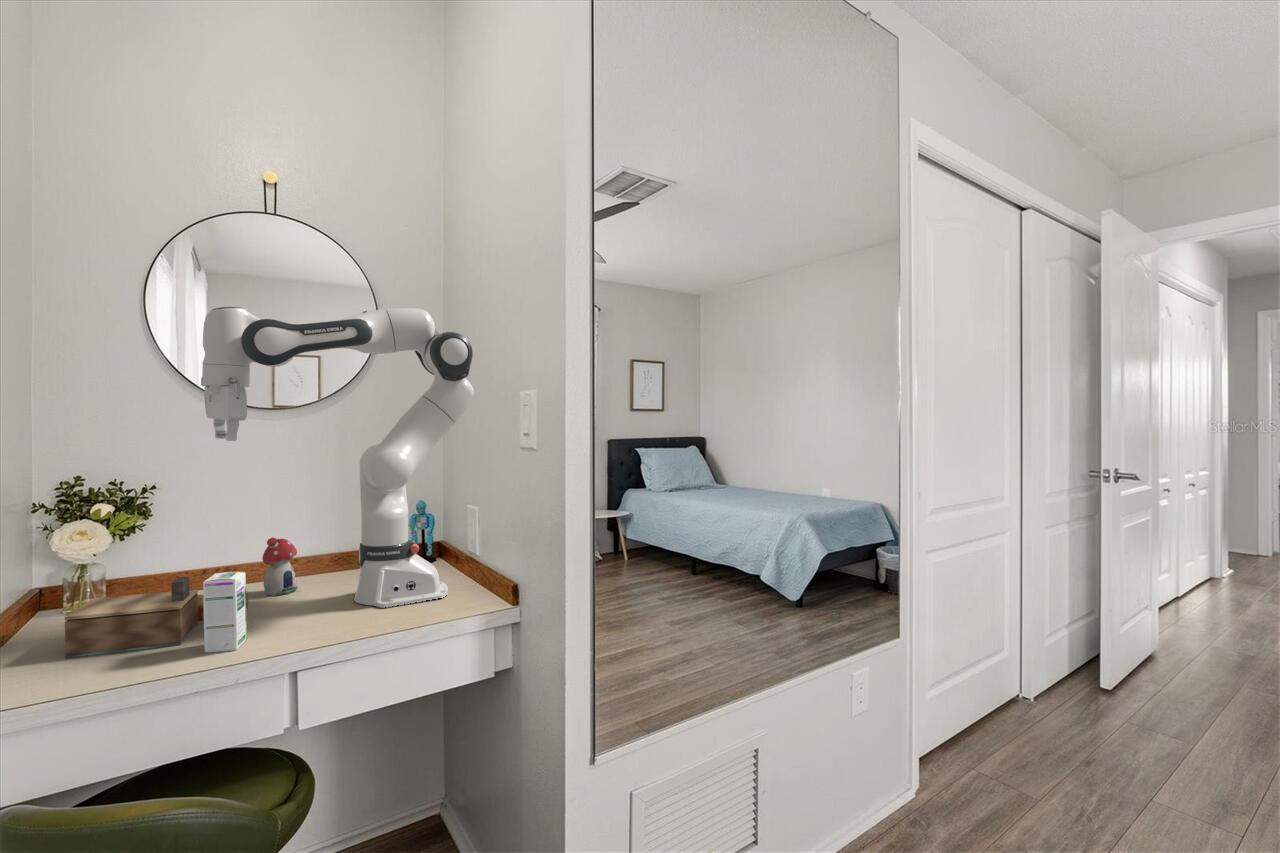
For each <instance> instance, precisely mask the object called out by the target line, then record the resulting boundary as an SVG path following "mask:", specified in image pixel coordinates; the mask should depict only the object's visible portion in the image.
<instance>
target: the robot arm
mask: <svg viewBox="0 0 1280 853" xmlns="http://www.w3.org/2000/svg"><path fill="white" fill-rule="evenodd" d="M435 324H436V323H435V321H434V319H433V317H432V316H431V314H430V313H429V312H428V310H425V309H423V308H419V307H418V308H417V307H392V308H391V307H390V308H382V309H381V308H379V309H375V310H370V311H366V312H362V313H359V314H355V315H352V316H348V317H346V318H343V319H339V320H331V321H321V322H312V323H299V324H298V323H297V324H294V323H288V322H284V321H281V320H276V319H271V318H264V319H263V318H259V317H258V316H256V315H254V314H253V313H251V312H249V311H248V310H247V309H246V308H244V307H240V306H222V307H215V308H213V309H211V310H209V311H207V314H206V315H205V317H204V321H203V331H202V347H203V350H204V357H203V360H202V368H201V369H202V376H201V378H200V386H202V387H204V388H203V392H204V393H203V394H204V396H203V397H204V408H205V409H204V410H205V414H206V416H207V419H212V420H213V427H214V428H213V429H214V437H215V438H216V439H218V440H220V439H221V440H224V439H225V440H226V441H227V442H228V441H229V442H236V441H238V430H239V427H240V421H246V420H247V417H248V416H247V415H248V400H247V399H248V398H247V390H246V388H249V387H250V378H251V377H250V372H251V370H250V369H251V368H250V366H251V363H256V364H258V365H259V364H260V365H263V366H264V367H265V366H266V367H271V368H277V367H282V366H285V365H286V364H289V362H291V361H292V360H293V359H294V357H295V356H297V355H298V356H299V355H300V354H304V353H309V352H310V353H311V352H319V351H325V350H332V349H349V350H354V351H357V352H360V353H363V354H369V355H370V354H373V355H375V354H376V355H379V354H391V353H399V352H406V351H414V353H415V354H416V356H417V357H418V359H419V361H420V363H421V365H422V366H423V368H424V369H425V370H426V371H427V372H428V373H430V374H431V375H433V376H434V380H433V382H432V384H431V385H430V387H429V388H428V389H427V390H426V391H425V392H424V393H423V394H422V395H421V396H420V397H419V398H418V400H416V401H415V402H414V403H413V404H412V406H410V407H409V409H408V410H406V412H405V413H404V414H403V415H402V416H401V417H400V418H399V420H398V421H397V422H396V424H395V425H394V426H393V428H392V429H391V430H390V431H389V433H388V434H387V435H386V436H385V437H384V438H383V440H382V441H381V442H380V443H376V444H373V445H372V446H369V447H368V448H367V449H366V450H365V451H364V452H362V455H361V457H360V460H359V488H360V490H359V492H360V506H361V508H360V509H361V510H360V511H361V542H359V543H360V544H359V549H358V563H359V566H360V567H359V569H360V570H359V578H358V583H357V586H356V587H357V588H356V591H355V595H354V598H353V600H354V602H355V603H358V604H361V605H366V606H374V607H377V608H382V609H384V608H385V607H386V608H391V607H392V606H393V607H398V606H397V605H399V606H403V605H404V604H405V605H409V604H410V603H411V604H416V603H415V602H417V603H422V601H423V602H427V601H426V600H430V601H433V600H432V599H436V600H439V599H438V598H442V599H444V598H445V596H446V595H448V594H449V588H448V585H447V584H446V583H445V582H444V581H441V580H440V576H439V575H440V574H439V572H438V570H437V568H436V566H435V565H433V563H431V562H429V561H428V560H427V559H424V558H423V557H421V556H420V555H419V554H417V553H418V552H419V550H420V546H419V544H417V543H416V542H415V541H414V540H411V539H409V504H408V495H407V486H406V485H407V483H409V481H410V479H411V478H412V477H413V476H414V474H415V473H416V471H418V469H419V468H420V466H421V465H422V464H423V463H424V461H425V460H426V458H427V457H428V455H429V454H430V453H431V452H432V450H433V448H434V447H435V446H436V445H437V444H438V443H439V441H441V439H442V438H443V437H445V435H446V434H447V433H448V432H449V431H450V429H451V428H452V427H453V426H454V425H455V424H456V423H457V422H458V421H459V419H461V417H462V416H463V414H464V413H465V412H466V410H467V409H468V407H469V406H470V404H471V402H472V401H473V398H474V397H475V389H474V388H473V385H472V384H471V382H470V381H469V380H468V379H467V377H468V376H469V373H470V369H471V366H472V365H471V364H472V362H473V353H474V351H473V346H472V345H471V342H470V341H469V340H468V339H467V338H466V337H465V336H464V335H462V334H460V333H458V332H454V331H445V332H442V333H441V332H440V331H438V329H437V328H436V325H435ZM443 597H444V598H443ZM446 597H447V596H446ZM411 604H410V605H411ZM393 607H392V608H393ZM386 608H385V609H386Z"/></svg>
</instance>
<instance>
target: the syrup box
mask: <svg viewBox="0 0 1280 853" xmlns="http://www.w3.org/2000/svg"><path fill="white" fill-rule="evenodd" d="M246 577H247V576H246V572H245V571H225V572H216V573H214V574H213V575H212V576H210V577H208V578H206V580H204V581H202V590H203V591H202V595H203V609H204V621H203V632H204V633H203V634H204V635H203V637H204V638H203V641H204V644H203V645H204V653H220V652H221V653H223V652H231V651H237V650H239V648H240V647H241V646H242V645H243V644H244V643H245V642H246V641H247V639H248V629H247V628H248V627H247V626H248V625H247V624H248V622H247V609H246V593H247V585H246V584H247V583H246V581H247V579H246Z"/></svg>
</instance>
